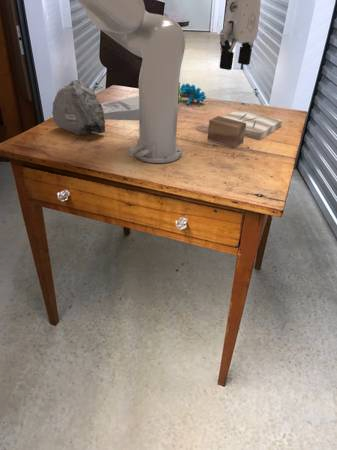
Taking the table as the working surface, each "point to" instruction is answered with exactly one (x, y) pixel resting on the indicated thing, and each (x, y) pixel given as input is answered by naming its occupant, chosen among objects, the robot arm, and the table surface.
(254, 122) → the board
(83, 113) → the decorative rock
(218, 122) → the block
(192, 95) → the gear
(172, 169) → the table surface
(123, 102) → the ramp
